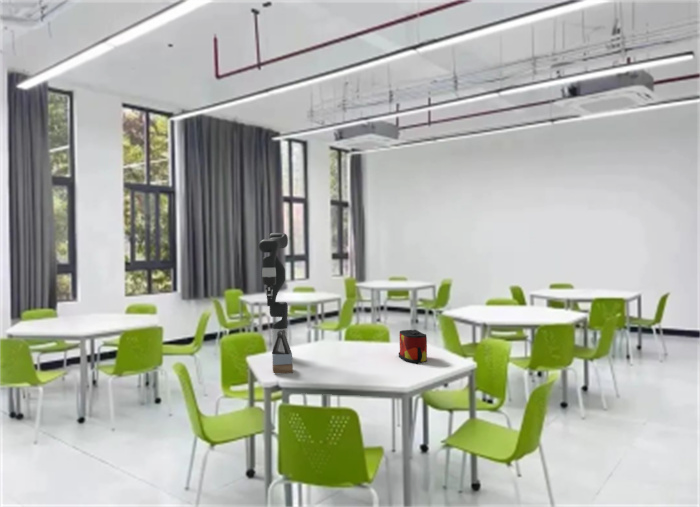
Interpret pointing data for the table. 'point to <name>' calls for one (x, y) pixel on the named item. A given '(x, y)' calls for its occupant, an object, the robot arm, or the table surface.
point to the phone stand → (284, 341)
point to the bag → (413, 346)
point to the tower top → (282, 359)
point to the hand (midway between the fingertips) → (269, 305)
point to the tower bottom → (283, 368)
